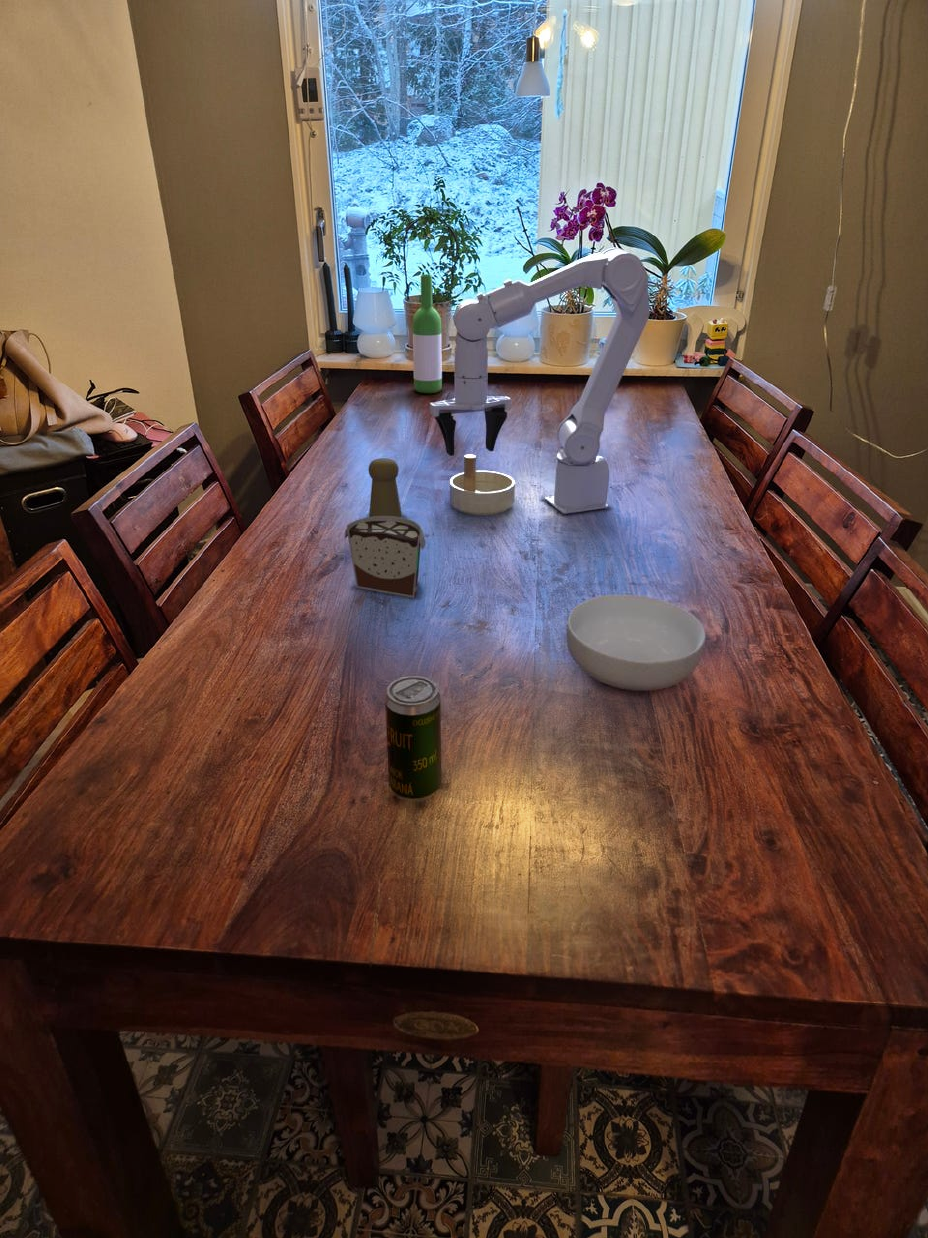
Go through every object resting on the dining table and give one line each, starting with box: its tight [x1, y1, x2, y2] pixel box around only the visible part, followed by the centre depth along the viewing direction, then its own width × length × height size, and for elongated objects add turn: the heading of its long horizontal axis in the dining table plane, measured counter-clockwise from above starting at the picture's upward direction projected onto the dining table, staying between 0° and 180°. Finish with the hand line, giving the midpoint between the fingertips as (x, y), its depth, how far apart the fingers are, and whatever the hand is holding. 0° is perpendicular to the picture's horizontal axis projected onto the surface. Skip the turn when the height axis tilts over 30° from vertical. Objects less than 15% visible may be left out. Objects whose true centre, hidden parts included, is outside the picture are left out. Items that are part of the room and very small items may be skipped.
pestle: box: [463, 453, 479, 492], centre depth 150 cm, size 4×4×9 cm
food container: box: [344, 516, 426, 599], centre depth 122 cm, size 12×6×10 cm, turn 71°
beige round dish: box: [449, 470, 516, 516], centre depth 152 cm, size 12×12×4 cm
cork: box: [368, 457, 403, 518], centre depth 143 cm, size 6×6×11 cm
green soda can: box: [384, 675, 442, 803], centre depth 81 cm, size 5×5×12 cm
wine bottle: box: [412, 273, 443, 394], centre depth 220 cm, size 8×8×30 cm
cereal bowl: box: [566, 593, 707, 692], centre depth 101 cm, size 17×17×7 cm
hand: (470, 451), depth 147 cm, fingers open, 7 cm apart
